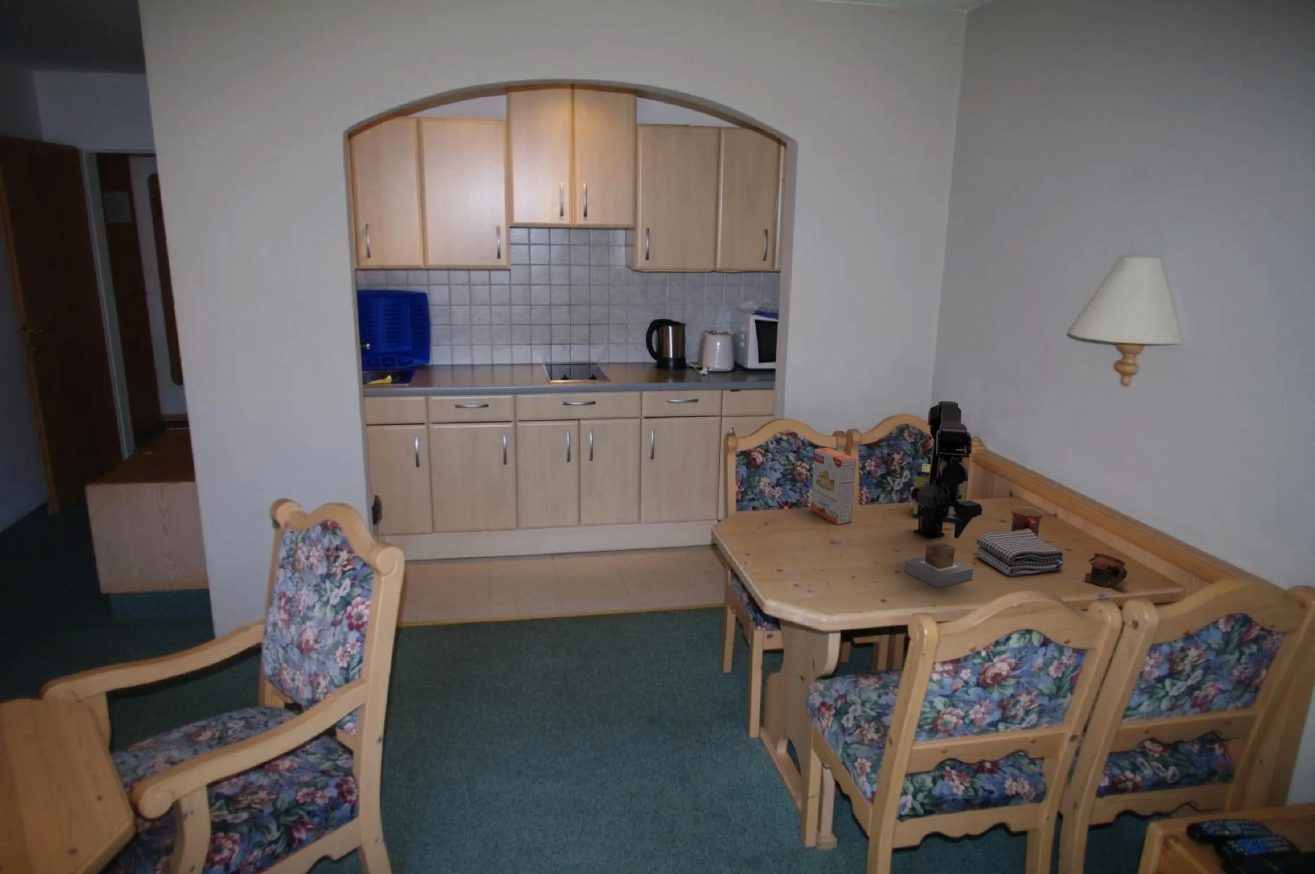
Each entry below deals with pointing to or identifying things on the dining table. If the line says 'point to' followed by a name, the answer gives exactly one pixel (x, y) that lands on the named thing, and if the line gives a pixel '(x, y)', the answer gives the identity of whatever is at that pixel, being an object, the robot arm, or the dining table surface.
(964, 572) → the pedestal
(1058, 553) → the towel
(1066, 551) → the dining table surface
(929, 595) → the dining table surface
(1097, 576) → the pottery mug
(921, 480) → the protein box
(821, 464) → the cracker box
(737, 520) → the dining table surface
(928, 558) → the walnut cube
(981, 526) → the dining table surface
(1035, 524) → the mug
